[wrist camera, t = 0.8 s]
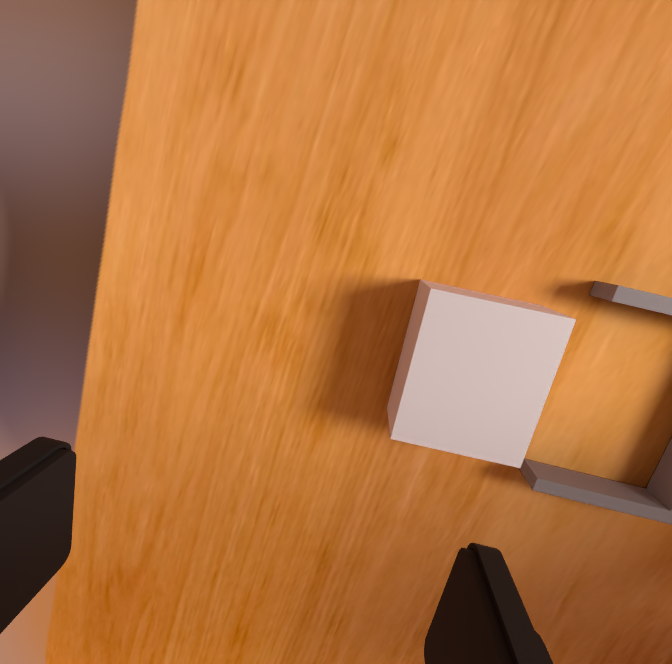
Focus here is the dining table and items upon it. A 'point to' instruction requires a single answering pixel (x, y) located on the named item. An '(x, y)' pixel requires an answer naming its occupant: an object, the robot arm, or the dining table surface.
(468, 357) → the carton
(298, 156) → the dining table surface
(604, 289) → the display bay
